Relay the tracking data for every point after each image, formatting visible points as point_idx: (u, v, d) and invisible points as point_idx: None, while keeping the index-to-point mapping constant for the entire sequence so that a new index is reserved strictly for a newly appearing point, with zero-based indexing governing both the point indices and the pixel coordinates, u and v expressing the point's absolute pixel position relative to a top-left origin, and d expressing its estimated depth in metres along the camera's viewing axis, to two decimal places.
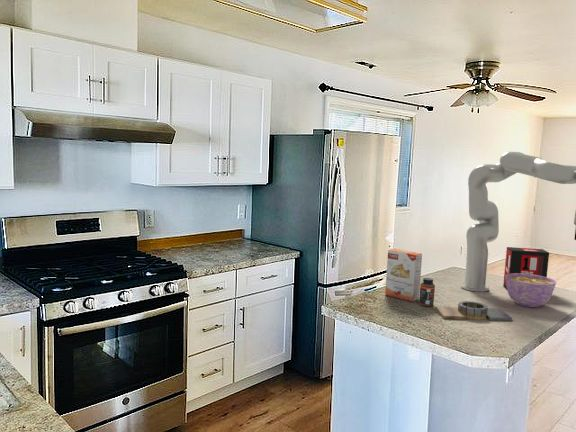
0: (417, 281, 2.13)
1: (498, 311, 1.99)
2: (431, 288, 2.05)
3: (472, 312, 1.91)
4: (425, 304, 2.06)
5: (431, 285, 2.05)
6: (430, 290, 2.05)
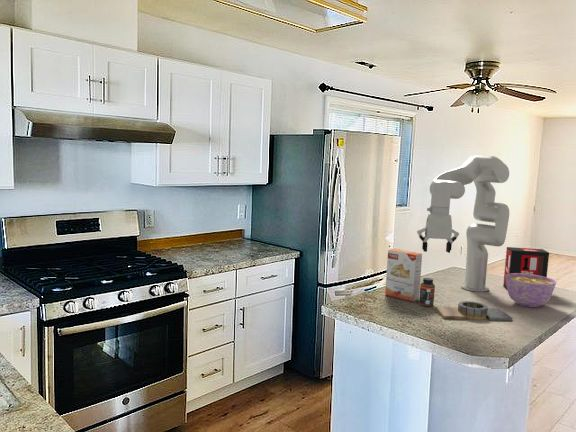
0: (417, 281, 2.13)
1: (498, 311, 1.99)
2: (431, 288, 2.05)
3: (472, 312, 1.91)
4: (425, 304, 2.06)
5: (431, 285, 2.05)
6: (430, 290, 2.05)
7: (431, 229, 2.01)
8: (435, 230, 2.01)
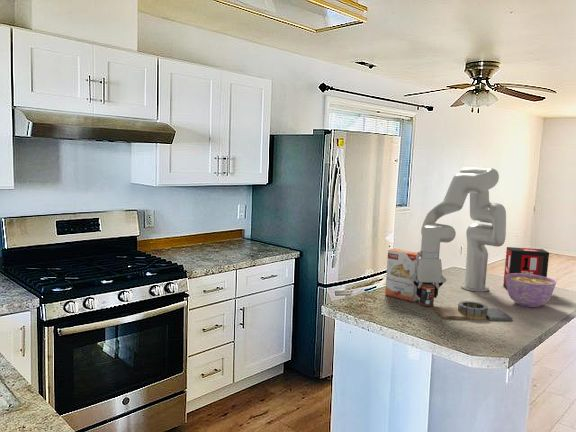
0: None
1: (498, 311, 1.99)
2: (431, 288, 2.05)
3: (472, 312, 1.91)
4: (425, 304, 2.06)
5: (431, 285, 2.05)
6: (430, 290, 2.05)
7: (421, 273, 2.04)
8: (425, 274, 2.04)
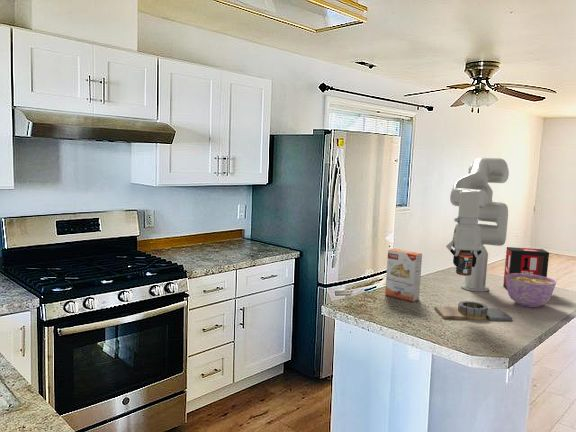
0: (417, 281, 2.13)
1: (498, 311, 1.99)
2: (469, 256, 1.94)
3: (472, 312, 1.91)
4: (463, 273, 1.95)
5: (469, 253, 1.94)
6: (468, 258, 1.94)
7: (459, 240, 1.93)
8: (463, 241, 1.93)
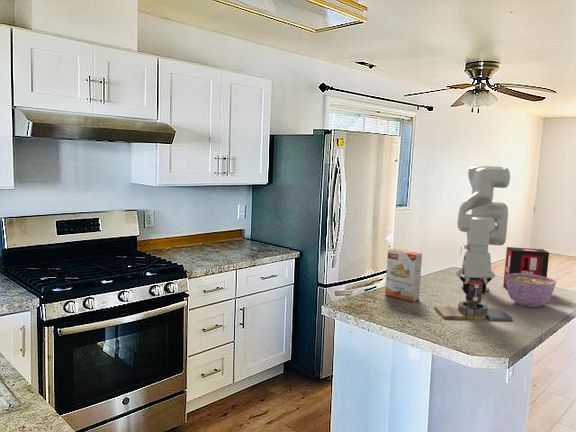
0: (417, 281, 2.13)
1: (498, 311, 1.99)
2: (479, 284, 1.92)
3: (472, 312, 1.91)
4: (473, 301, 1.93)
5: (479, 281, 1.93)
6: (478, 286, 1.92)
7: (469, 268, 1.92)
8: (473, 269, 1.92)
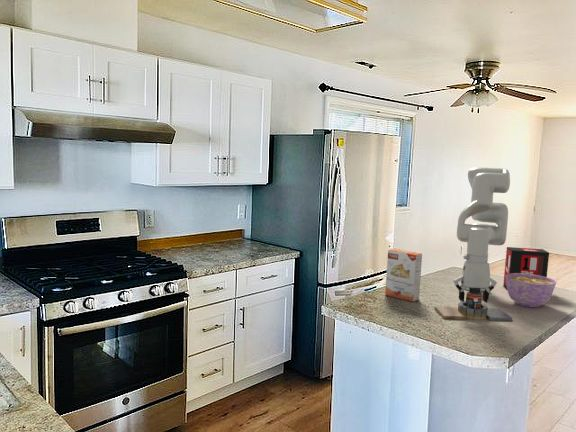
0: (417, 281, 2.13)
1: (498, 311, 1.99)
2: (478, 297, 1.93)
3: (472, 312, 1.91)
4: None
5: (478, 294, 1.94)
6: (478, 299, 1.93)
7: (468, 278, 1.92)
8: (472, 279, 1.92)
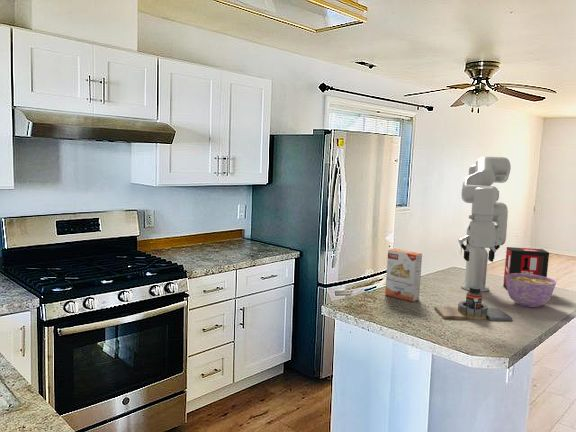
0: (417, 281, 2.13)
1: (498, 311, 1.99)
2: (478, 297, 1.93)
3: (472, 312, 1.91)
4: None
5: (479, 294, 1.94)
6: (478, 299, 1.93)
7: (474, 238, 1.93)
8: (478, 239, 1.93)
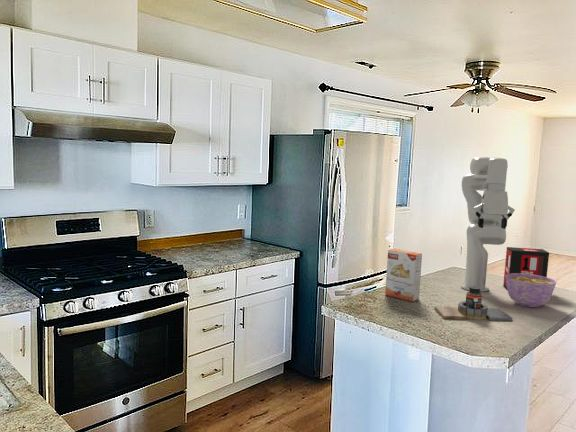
0: (417, 281, 2.13)
1: (498, 311, 1.99)
2: (478, 297, 1.93)
3: (472, 312, 1.91)
4: None
5: (478, 294, 1.94)
6: (478, 299, 1.93)
7: (488, 205, 2.05)
8: (492, 206, 2.05)
